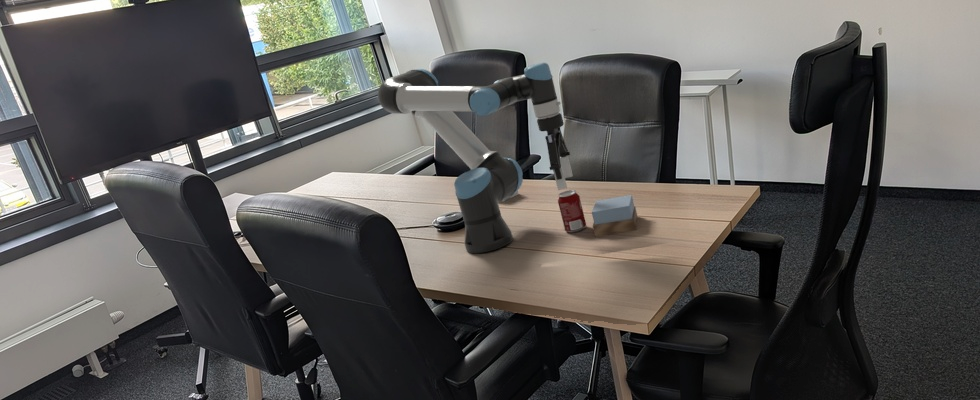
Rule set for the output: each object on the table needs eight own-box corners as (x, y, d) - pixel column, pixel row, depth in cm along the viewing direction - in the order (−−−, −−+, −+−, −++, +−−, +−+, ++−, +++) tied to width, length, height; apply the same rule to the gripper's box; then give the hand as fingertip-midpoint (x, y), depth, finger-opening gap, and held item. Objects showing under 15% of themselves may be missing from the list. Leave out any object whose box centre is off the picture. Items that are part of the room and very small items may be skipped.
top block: (594, 225, 219) (591, 212, 218) (598, 213, 229) (595, 201, 228) (631, 218, 215) (629, 205, 215) (634, 207, 226) (631, 194, 225)
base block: (595, 238, 219) (592, 225, 218) (599, 225, 231) (596, 213, 230) (636, 231, 216) (633, 218, 215) (637, 218, 227) (635, 206, 226)
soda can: (586, 231, 226) (577, 194, 224) (564, 235, 228) (555, 198, 225) (587, 224, 233) (578, 187, 230) (566, 228, 235) (557, 192, 232)
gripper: (554, 120, 209) (572, 191, 214) (566, 105, 232) (582, 170, 237) (529, 126, 211) (547, 197, 216) (543, 110, 235) (559, 174, 239)
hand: (565, 183), depth 227 cm, fingers open, 13 cm apart
